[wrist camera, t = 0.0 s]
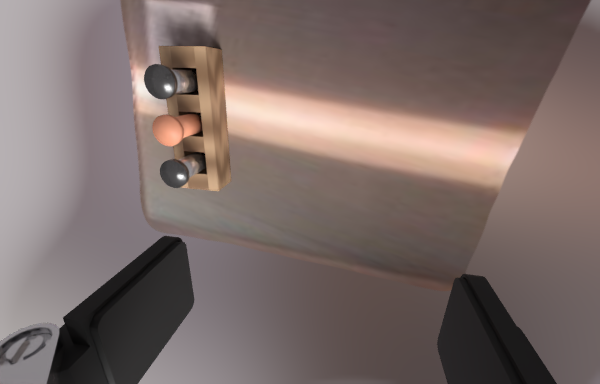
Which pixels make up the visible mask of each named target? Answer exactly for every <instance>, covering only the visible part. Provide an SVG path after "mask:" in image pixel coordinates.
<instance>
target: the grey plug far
mask: <svg viewBox="0 0 600 384" xmlns="http://www.w3.org/2000/svg"><path fill="white" fill-rule="evenodd" d="M205 168H206V158H205V156H204V155H202V154H201V153H198V152H195V153H192V154H190V155H188V156H186V157H184V158H181V159H179V160H177V159H170V160H168V161H166V162H164V163H163V164H162V165H161V168H160V175H161V177H162V179H163V181H164V182H165V183H166V184H167V185H168V186H170V187H173V188H180V187H182V186H183V185H185V184H186V183H187V182H188V181H189V178H190V177H192V176H193V175H195V174H197V173H198V172H200V171H202V170H203V169H205Z"/></svg>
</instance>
